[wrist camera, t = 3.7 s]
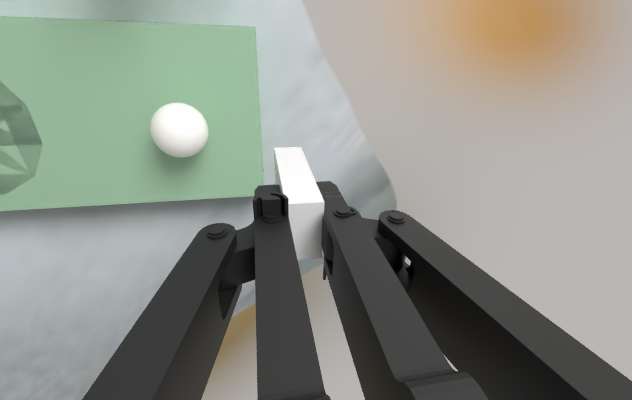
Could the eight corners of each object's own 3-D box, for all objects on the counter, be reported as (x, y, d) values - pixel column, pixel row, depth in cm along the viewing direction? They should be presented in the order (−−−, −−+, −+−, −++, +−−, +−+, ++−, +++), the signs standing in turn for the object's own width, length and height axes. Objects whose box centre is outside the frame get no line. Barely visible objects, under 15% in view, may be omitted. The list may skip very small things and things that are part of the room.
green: (-209, 8, 19) (-1094, -34, 7) (254, 27, 25) (261, 24, 12) (-79, 199, 26) (-393, 362, 13) (263, 182, 32) (273, 286, 19)
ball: (152, 97, 23) (136, 109, 20) (207, 97, 24) (200, 109, 20) (163, 147, 25) (150, 166, 22) (213, 146, 26) (208, 164, 22)
